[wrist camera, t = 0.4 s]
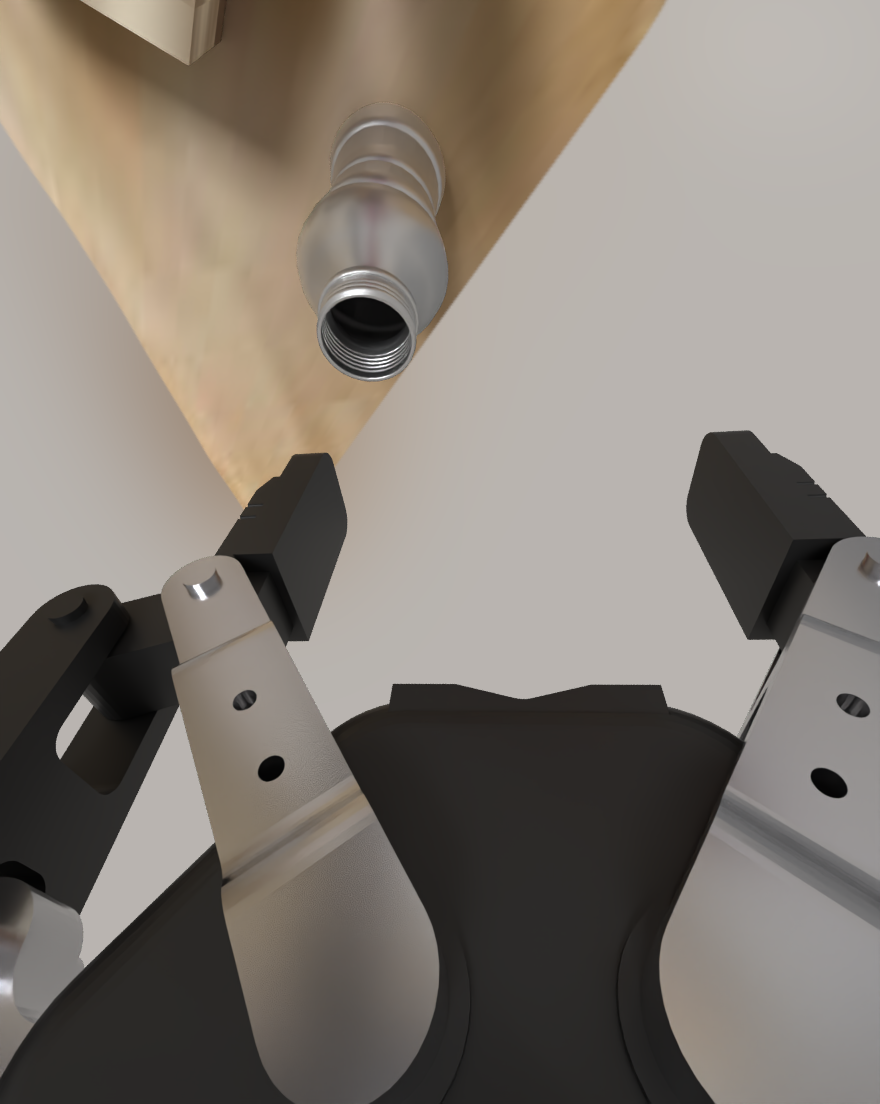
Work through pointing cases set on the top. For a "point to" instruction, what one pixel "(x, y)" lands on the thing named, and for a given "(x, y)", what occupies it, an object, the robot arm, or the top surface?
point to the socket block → (170, 23)
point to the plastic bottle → (376, 243)
